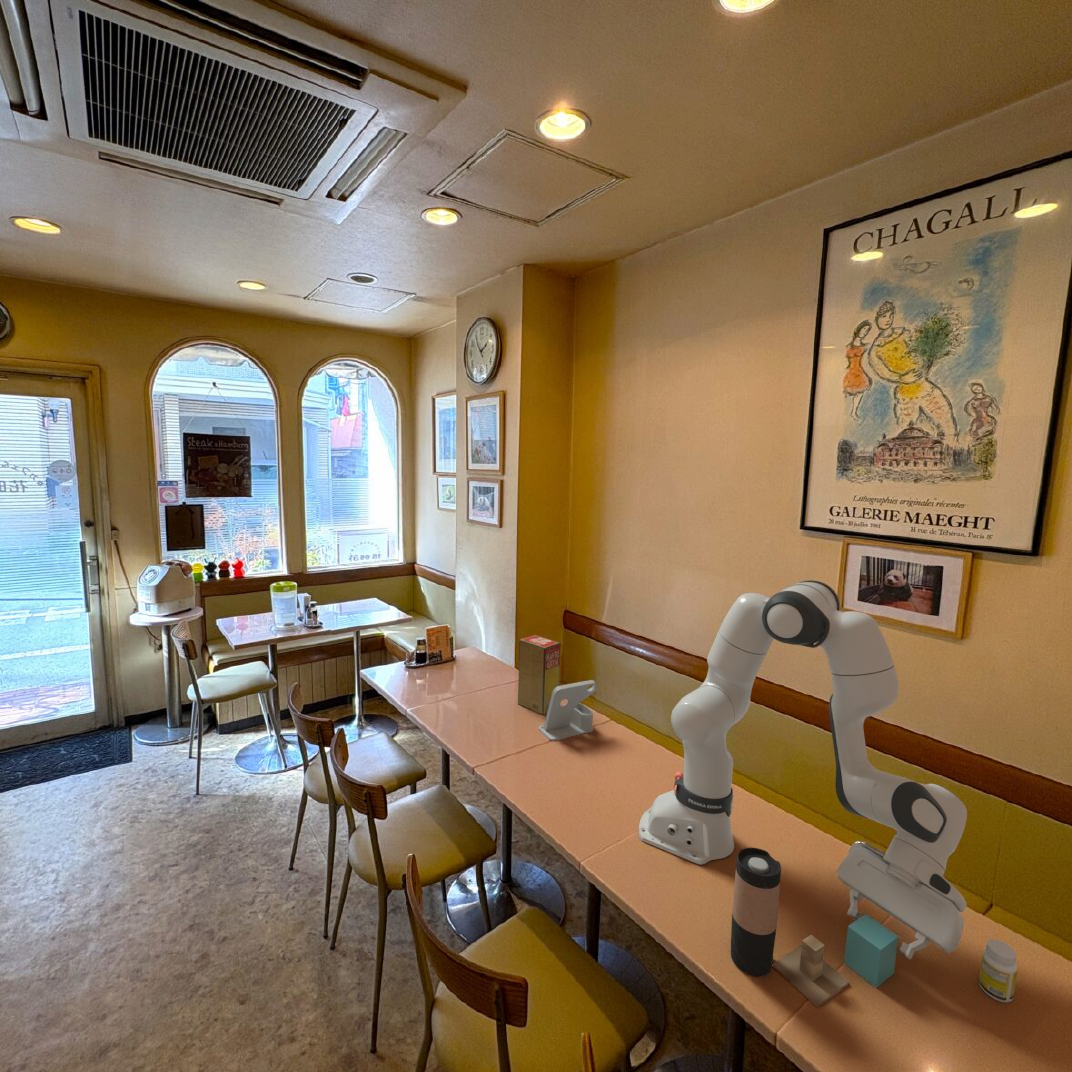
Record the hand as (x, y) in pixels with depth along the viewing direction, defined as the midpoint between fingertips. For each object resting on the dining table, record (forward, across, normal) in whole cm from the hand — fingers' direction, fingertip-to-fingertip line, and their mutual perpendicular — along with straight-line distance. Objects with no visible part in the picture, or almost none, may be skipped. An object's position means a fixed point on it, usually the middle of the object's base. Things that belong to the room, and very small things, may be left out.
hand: (877, 935), depth 103 cm
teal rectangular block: (+5, 0, +3) cm, 6 cm away
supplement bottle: (-5, +14, +14) cm, 20 cm away
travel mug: (+18, -12, -9) cm, 23 cm away
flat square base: (+13, -4, -4) cm, 14 cm away
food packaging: (+3, -123, +5) cm, 123 cm away
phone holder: (+4, -103, +4) cm, 103 cm away
